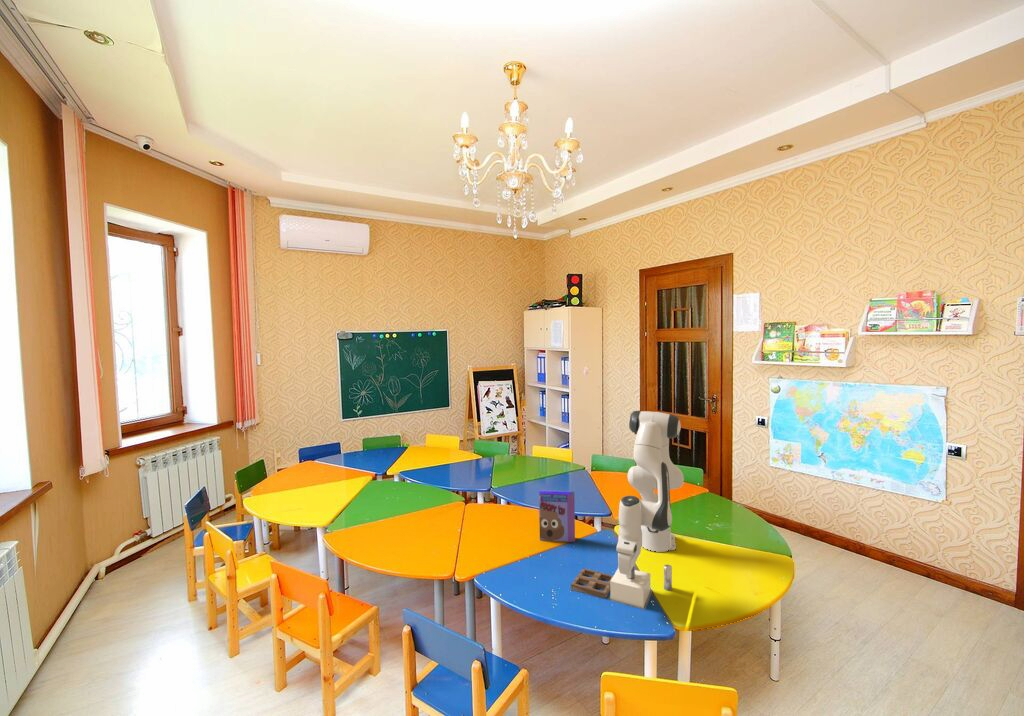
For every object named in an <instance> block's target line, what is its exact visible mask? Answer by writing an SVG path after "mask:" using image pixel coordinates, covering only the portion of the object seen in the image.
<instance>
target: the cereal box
mask: <svg viewBox="0 0 1024 716" xmlns="http://www.w3.org/2000/svg"><path fill="white" fill-rule="evenodd" d="M538 506H539V507H538V513H539V517H538V518H539V541H542V542H543V541H544V542H545V541H546V542H547V541H548V542H561V543H562V542H563V543H564V542H566V543H576V524H575V523H576V522H575V521H576V520H575V518H576V516H575V515H576V514H575V513H576V512H575V509H576V508H575V491H568V490H567V491H563V490H561V491H560V490H539V492H538Z"/></svg>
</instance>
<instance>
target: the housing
mask: <svg viewBox="0 0 1024 716" xmlns="http://www.w3.org/2000/svg"><path fill="white" fill-rule="evenodd" d="M631 572H632V577H631V578H627V577H626V575H625V574H621V573H620V572H619V567H618V566H617V569H616V570H615V573H614V575H613V577H612V579H611V581H610V591H609V593H610V594H609V596H610V599H613V600H616V601H620V602H624V603H627V604H631V605H634V606H638V607H642V608H644V605H645V603H646V600H647V598H648V596H649V593H650V590H651V573H649V572H645V571H641V570H636V566H635V567H634V566H633V568H632V570H631Z"/></svg>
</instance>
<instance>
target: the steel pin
mask: <svg viewBox="0 0 1024 716" xmlns="http://www.w3.org/2000/svg"><path fill="white" fill-rule="evenodd" d="M663 590H665V591H667V592H670V591H672V590H673V566H672V565H671V564H664V565H663Z"/></svg>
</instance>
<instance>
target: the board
mask: <svg viewBox="0 0 1024 716" xmlns="http://www.w3.org/2000/svg"><path fill="white" fill-rule="evenodd" d="M653 592H654V590H653V589H650V593H649V596H648V598H647V600H646V603H645V605H644V608H642V607H638V606H634V605H631V604H627V603H624V602H620V601H616V600H613V599H610V595H609V596H608V598H607V600H608V601H612V602H616V603H619V604H623V605H626V606H630V607H632V608H637V609H640V610H644V611H646V609H647V606H648V604H649V602H650V599H651V596H652V594H653Z"/></svg>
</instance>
